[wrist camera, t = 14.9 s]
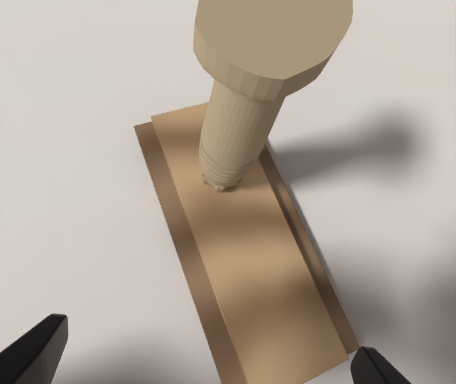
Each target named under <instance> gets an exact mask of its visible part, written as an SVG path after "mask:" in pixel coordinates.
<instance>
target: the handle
mask: <svg viewBox="0 0 456 384" xmlns="http://www.w3.org/2000/svg"><path fill="white" fill-rule="evenodd" d="M352 14H353V2H352V0H199V3H198V8H197V14H196V19H195V27H194V44H193V47H194V53H195V55H196V57H197V59H198V61H199V62H200V64H201V65H202V67H203V68H204V70H205V71H207V72H208V73H209V74H210V75H211V76H212V77H213V78H214V79H215V81H214V85H213V89H212V93H211V96H210V100H209V104H208V108H207V111H206V115H205V119H204V122H203V126H202V130H201V136H200V144H199V162H200V168H201V171H202V174H201V179H202V181H203V183H204V184H207V185H210V186H212V187H213V188H214V189H215V191H216V192H222V191H223V190H224V189H226V188H228V187H231V186H236V185H238V184H239V183H240V181H241V180H242V179H243V177H244V176H245V175H246V174H247V173H248V171H249V170H250V169H251V167H252V166H253V165H254V163H255V161H256V160H257V158H258V156H259V155H260V153H261V151H262V149H263V147H264V145H265V142H266V140H267V138H268V135H269V133H270V131H271V128H272V126H273V124H274V121H275V119H276V117H277V115H278V112H279V110H280V108H281V106H282V104H283V101H284V99H285V97H286V96H288V95H290V94H292V93H294V92H296V91H298V90H300V89H302V88H303V87H305V86H306V85H308V84H309V83H311V82H312V81H314V80H315V79H316V78H317V77H318V76H319V75H320V73H321V72H322V70H323V68H324V67H325V65H326V64H327V62H328V61H329V59H330V58H331V56H332V54H333V53H334V51H335V50H336V48H337V47H338V45H339V43H340V42H341V40H342V39H343V37H344V36H345V34H346V32H347V31H348V28H349V26H350V24H351V22H352Z"/></svg>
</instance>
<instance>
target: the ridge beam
mask: <svg viewBox="0 0 456 384" xmlns="http://www.w3.org/2000/svg"><path fill="white" fill-rule="evenodd" d="M208 104H209V102H208V103H204V104H200V105H195V106H191V107H187V108H183V109H179V110H175V111H171V112H167V113H162V114H158V115H154V116H151V118H152V122H148V123H144V124H140V125H136V126H134V128H135V132H136V135H137V138H138V141H139V144H140V147H141V149H142V152H143V155H144V158H145V161H146V164H147V167H148V170H149V173H150V176H151V179H152V181H153V184H154V187H155V190H156V193H157V196H158V199H159V202H160V205H161V208H162V211H163V213H164V216H165V219H166V222H167V225H168V228H169V231H170V234H171V237H172V240H173V243H174V245H175V248H176V251H177V254H178V257H179V260H180V263H181V266H182V269H183V272H184V275H185V277H186V280H187V283H188V286H189V289H190V292H191V295H192V298H193V301H194V304H195V307H196V310H197V312H198V315H199V318H200V321H201V324H202V327H203V330H204V333H205V336H206V339H207V342H208V344H209V347H210V350H211V353H212V356H213V359H214V362H215V365H216V368H217V371H218V374H219V376H220V379H221V382H222V384H303V383H305V382H307V381H309V380H311V379H312V378H314V377H316V376H318V375H320V374H322V373H323V372H325V371H327V370H329V369H331V368H333V367H335V366H336V365H338V364H340V363H342V362H344V361H346V360H348V359H349V358H348V356H347V355H348V354H349V353H351V352H353V351H355V350H357V349H359V348H360V347H359V344H358V342H357V340H356V338H355V336H354V334H353V331H352V329H351V327H350V325H349V323H348V321H347V319H346V316H345V314H344V312H343V310H342V308H341V306H340V304H339V301H338V299H337V297H336V295H335V293H334V291H333V289H332V286H331V284H330V282H329V280H328V278H327V276H326V273H325V271H324V269H323V267H322V265H321V263H320V261H319V258H318V256H317V254H316V252H315V250H314V248H313V246H312V243H311V241H310V239H309V237H308V235H307V233H306V231H305V228H304V226H303V224H302V222H301V220H300V218H299V216H298V213H297V211H296V209H295V207H294V205H293V203H292V200H291V198H290V196H289V194H288V192H287V190H286V188H285V185H284V183H283V181H282V179H281V177H280V175H279V173H278V170H277V168H276V166H275V164H274V162H273V160H272V158H271V155H270V153H269V151H268V149H267V147H266V145H264V147H263V149H262V151H261V153H260V155H259V156H258V158H257V160H256V161H255V163H254V165H253V166H252V167H251V169H250V170H249V171H248V173H247V174H246V175H245V176H244V177H243V179H242V180H241V181H240V183H239V184H238V185H236V186H231V187H228V188H226V189H224V190H223V191H222V192H216V191H215V189H214V188H213V187H212V186H210V185H207V184H204V183H203V181H202V179H201V174H202V171H201V168H200V162H199V144H200V136H201V130H202V126H203V122H204V119H205V115H206V111H207V108H208Z"/></svg>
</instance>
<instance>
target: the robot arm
mask: <svg viewBox="0 0 456 384" xmlns="http://www.w3.org/2000/svg"><path fill="white" fill-rule="evenodd" d="M67 339H68V318H67V316H66V315H64V314H51V315H49V316H48V317H46V318H45V319H44V320H42V321H41V322H40V323H38V324H37V325H36V326H34V327H33V328H32V329H31V330H29V331H28V332H27V333H25V334H24V335H23V336H21V337H20V338H19V339H17V340H16V341H15V342H13V343H12V344H11V345H10V346H8V347H7V348H6V349H4V350H3V351H2V352H0V384H51V382H52V379H53V377H54V374H55V372H56V369H57V366H58V364H59V361H60V359H61V356H62V353H63V351H64V348H65V346H66V343H67ZM351 374H352V378H353V382H354V384H411V383H410V382H409V381H408V380H407V379H406V378H405V377H404V376H403V375H402V374H401V373H400V372H399V371H398V370H397V369H395V368H394V367H393V366H392V365H391V364H390V363H389V362H388V361H387V360H386V359H385V358H384V357H383V356H382V355H381V354H380V353H379V352H378V351H377V350H376V349H374V348H372V347H365V346H361V347H360V348H359V349H358V351H357V352H356V354H355V356H354V358H353V360H352V362H351Z"/></svg>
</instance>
